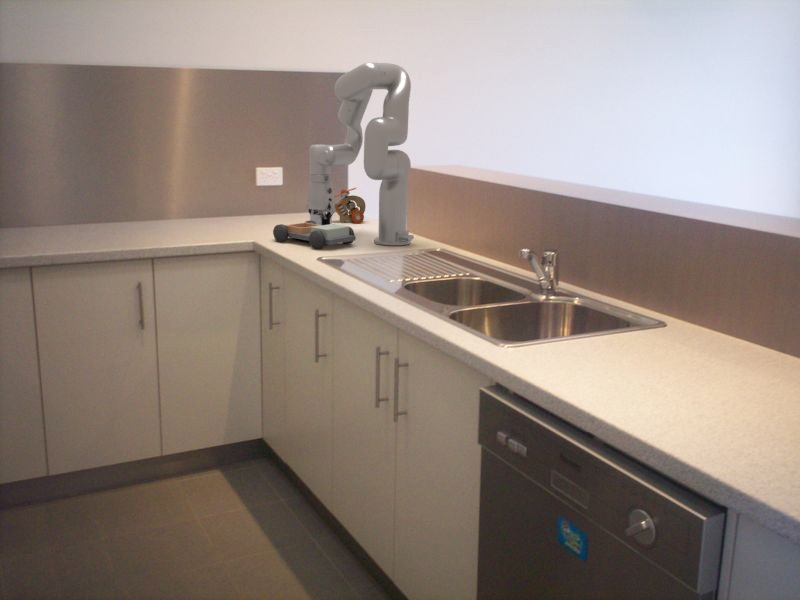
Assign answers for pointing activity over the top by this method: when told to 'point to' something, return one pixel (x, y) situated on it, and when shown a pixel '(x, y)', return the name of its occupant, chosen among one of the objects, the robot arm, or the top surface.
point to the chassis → (315, 233)
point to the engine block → (318, 218)
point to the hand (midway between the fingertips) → (321, 228)
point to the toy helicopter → (350, 207)
